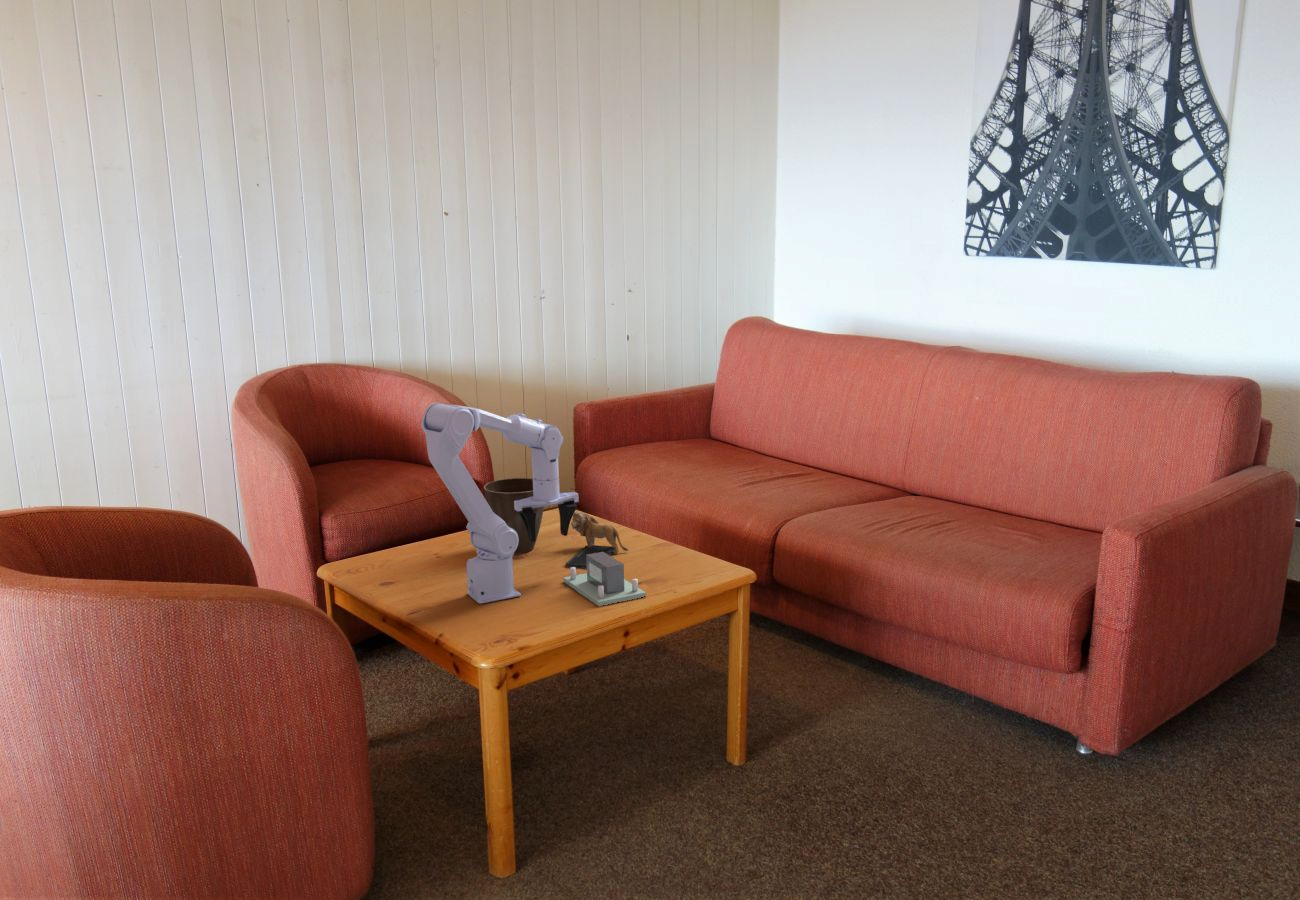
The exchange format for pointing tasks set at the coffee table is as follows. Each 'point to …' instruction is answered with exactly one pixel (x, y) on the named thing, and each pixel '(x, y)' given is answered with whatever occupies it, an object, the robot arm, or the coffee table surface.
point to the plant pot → (502, 505)
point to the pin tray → (602, 589)
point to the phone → (581, 555)
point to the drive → (605, 572)
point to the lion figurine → (595, 530)
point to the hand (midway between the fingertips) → (548, 537)
